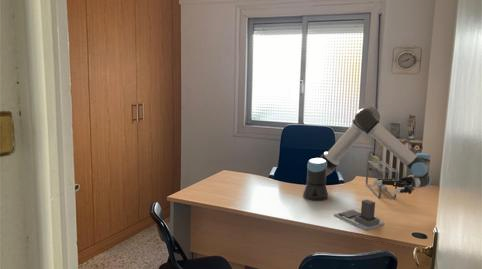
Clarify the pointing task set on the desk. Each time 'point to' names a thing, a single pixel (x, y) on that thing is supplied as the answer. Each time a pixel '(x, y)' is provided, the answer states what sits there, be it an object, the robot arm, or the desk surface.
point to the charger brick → (367, 210)
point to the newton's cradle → (382, 187)
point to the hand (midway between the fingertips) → (384, 187)
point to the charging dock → (358, 220)
